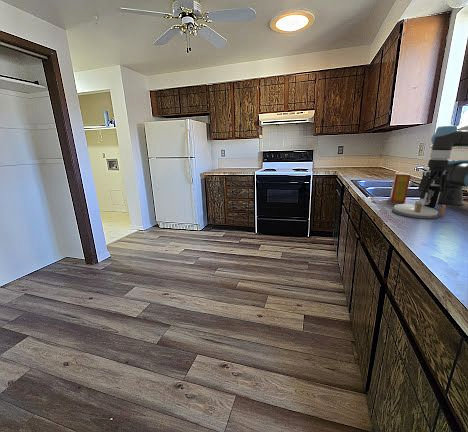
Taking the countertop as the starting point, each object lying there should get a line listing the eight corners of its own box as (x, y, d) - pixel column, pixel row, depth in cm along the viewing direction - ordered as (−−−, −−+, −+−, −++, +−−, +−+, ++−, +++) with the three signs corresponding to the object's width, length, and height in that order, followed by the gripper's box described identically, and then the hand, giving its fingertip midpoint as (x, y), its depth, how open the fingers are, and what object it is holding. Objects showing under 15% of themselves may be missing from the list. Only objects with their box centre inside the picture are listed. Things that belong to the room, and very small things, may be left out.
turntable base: (391, 206, 127) (393, 196, 126) (438, 212, 118) (441, 201, 116) (392, 215, 112) (395, 203, 111) (447, 222, 103) (450, 209, 102)
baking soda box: (404, 203, 135) (410, 174, 130) (390, 201, 138) (396, 173, 133) (402, 199, 143) (408, 172, 138) (389, 198, 146) (395, 171, 141)
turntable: (392, 205, 126) (395, 194, 125) (434, 209, 118) (436, 198, 117) (394, 213, 112) (396, 201, 111) (441, 218, 104) (444, 206, 103)
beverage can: (437, 209, 123) (444, 185, 119) (423, 208, 124) (428, 185, 120) (430, 206, 129) (436, 183, 125) (416, 205, 130) (421, 183, 127)
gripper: (446, 158, 125) (435, 201, 132) (415, 158, 120) (405, 203, 127) (462, 159, 118) (450, 204, 125) (430, 160, 113) (419, 207, 120)
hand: (427, 204), depth 126 cm, fingers open, 8 cm apart
